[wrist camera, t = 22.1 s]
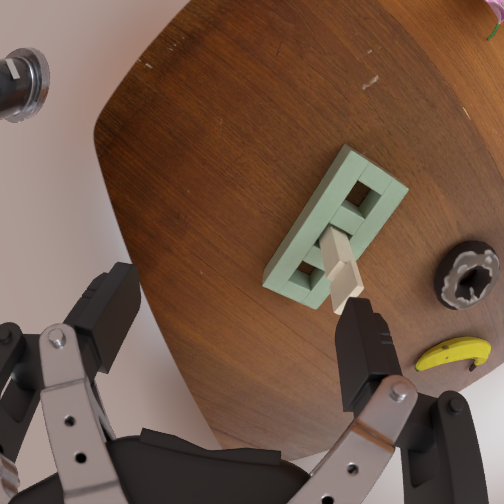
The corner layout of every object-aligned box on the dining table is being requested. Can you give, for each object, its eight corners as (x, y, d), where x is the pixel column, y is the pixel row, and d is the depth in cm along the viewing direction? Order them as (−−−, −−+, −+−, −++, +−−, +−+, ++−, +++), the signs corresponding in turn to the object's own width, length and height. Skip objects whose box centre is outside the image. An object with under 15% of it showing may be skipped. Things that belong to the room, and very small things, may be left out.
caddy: (263, 270, 43) (261, 286, 40) (344, 143, 33) (351, 150, 30) (314, 293, 44) (316, 310, 41) (399, 179, 34) (409, 189, 31)
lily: (523, 31, 20) (551, -3, 11) (521, 88, 22) (560, 55, 12) (450, -14, 22) (466, -58, 13) (439, 35, 24) (462, -14, 15)
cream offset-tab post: (314, 234, 39) (326, 309, 27) (329, 211, 37) (350, 281, 25) (329, 242, 39) (347, 318, 28) (345, 220, 38) (371, 291, 26)
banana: (418, 366, 46) (413, 396, 54) (502, 340, 40) (484, 374, 49) (413, 344, 49) (410, 377, 58) (494, 320, 44) (479, 357, 52)
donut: (416, 280, 41) (425, 298, 38) (467, 221, 36) (481, 235, 32) (456, 308, 44) (464, 324, 40) (502, 258, 38) (513, 272, 34)
